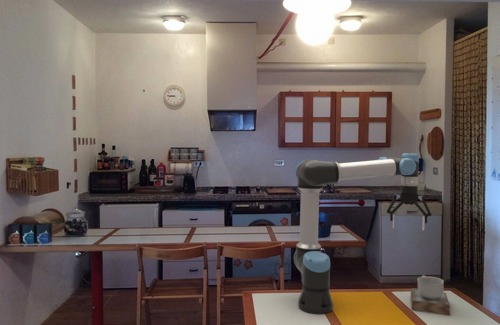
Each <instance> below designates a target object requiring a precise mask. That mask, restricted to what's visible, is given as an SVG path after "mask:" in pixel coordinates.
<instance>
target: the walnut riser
mask: <svg viewBox="0 0 500 325" xmlns="http://www.w3.org/2000/svg"><path fill="white" fill-rule="evenodd" d="M410 305H411V310H412V311H416V312H417V311H418V312H424V313H429V314H430V313H431V314H432V313H433V314H440V315H446V316H450V315H451V305H450V301H449V298H448V296H447V293H446V292H444V291H443V295H442V296H441V297H440V298H439V299H436V300H430V299H426V298H424V297H423V296H422V295H420V294H419V291H418V288H410Z"/></svg>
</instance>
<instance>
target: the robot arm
mask: <svg viewBox="0 0 500 325" xmlns="http://www.w3.org/2000/svg"><path fill="white" fill-rule="evenodd" d="M419 165H420V159H419V154H418V153H407V152H404V153H402V155H401V156H400V157H398V156H396V157H394V156H392V157H391V156H380V157H379V158H378V159H375V160H374V159H373V160H366V161H365V160H364V161H363V160H361V161H352V162H342V163H341V162H340V163H338V162H337V161H335V160H334V161H324V160H316V159H311V158H310V159H308V158H307V159H305V160H302V161H301V162H300V163H298V165H297V166H296V169H295V175H296V178H297V189H298V190H299V191H300V211H299V212H300V213H299V214H300V216H299V242H298V243H296V246H295V247H296V248H295V252H294V254H293V263H294V265H295V267H296V268H297V270H298V271H299V272H300V273H301V275H302V290H301V293H300V296H299V297H298V298H299V299H298V301H297V302H298V303H297V304H298V305H297V306H298V309H300V310H301V311H303V312H304V313H305V312H306V313H308V314H309V313H310V314H315V315H316V314H317V315H320V314H321V315H322V314H327V313H331V312H332V311H333V310H334V303H333V299H332V296H331V291H330V280H331V279H330V278H331V277H330V275H331V274H330V273H331V259H330V256H329V255H327V253H325V252H322V245H321V244H320V243H319V218H320V216H319V212H320V211H319V210H320V209H319V208H320V192H321V191H322V190H323V187H324V186H326V185H332V184H338V183H339V182H341V181H348V180H359V179H360V180H361V179H368V178H369V179H370V178H378V177H379V178H381V177H390V176H391V177H393V176H401V181H400V182H401V183H400V184H401V186H400V194H394V196H393V199H392V201H391V202H390V204H389V207H388V208H387V210H386V213H387V214H389V216H390V217H389V220H390V222H392V229H395V212H396V211H398V210H399V209H400V207H401V206H403V205H410V206H411V205H414V206H416V207H417V209H418V210H419V211H420V213H421V214H423V216H422V225H421V227H422V231H423V232H424V231H425V224H427V223H428V217H431V216H432V212H431V210H430V208H429V207H428V204H427V202H426V200H425V198H426V197H425V196H424V195H420V196H419V195H418V194H419V193H418V191H419V190H418V189H419V186H418V185H419ZM398 199H400V200H401V201H400V202H399V203H398V204H397V205H396V206H395V203H396V201H397V200H398ZM418 200H420V201H422V204H423V206H424V208H425V209H426V212H425V210H424V209H423V208H422V207H421V206H420V204H419V203H418ZM393 206H395V207H394V208H393ZM392 208H393V209H392Z"/></svg>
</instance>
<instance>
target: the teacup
mask: <svg viewBox="0 0 500 325" xmlns="http://www.w3.org/2000/svg"><path fill="white" fill-rule="evenodd" d="M444 282H445V281H444V280H443V279H442V278H439V277H436V276H435V277H434V276H426V275H421V276H419V277H417V289H418V291H419V294H420V295H422V296H423V297H424V298H426V299H430V300H436V299H439V298H440V297H441V296H442V295H443V292H444V290H445V288H444Z"/></svg>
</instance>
